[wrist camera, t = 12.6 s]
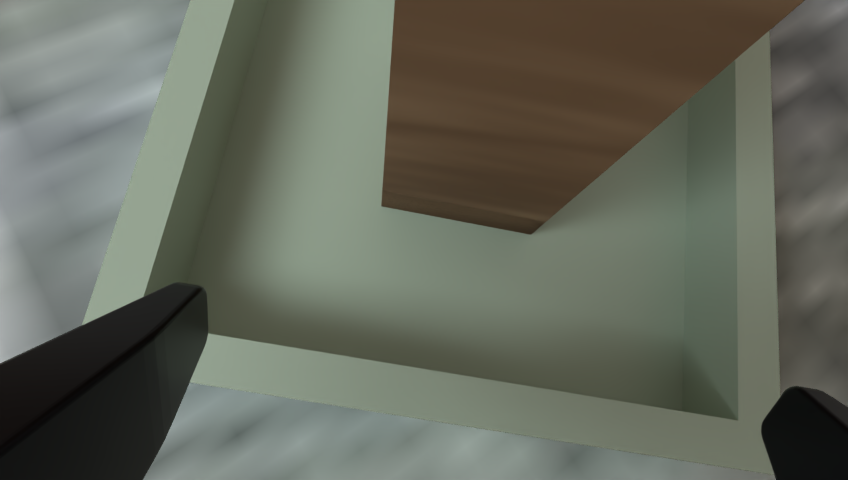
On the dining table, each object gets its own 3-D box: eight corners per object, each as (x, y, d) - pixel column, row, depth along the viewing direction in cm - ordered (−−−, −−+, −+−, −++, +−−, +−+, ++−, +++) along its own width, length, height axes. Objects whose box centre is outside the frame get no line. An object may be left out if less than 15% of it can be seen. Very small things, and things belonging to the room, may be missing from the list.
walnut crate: (531, 234, 17) (920, -99, 5) (381, 206, 16) (409, -221, 5) (548, 77, 18) (874, -463, 6) (412, 48, 18) (492, -570, 6)
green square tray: (698, 455, 16) (782, 476, 13) (135, 365, 15) (69, 363, 12) (703, -3, 21) (766, -74, 18) (273, -96, 20) (253, -189, 17)
